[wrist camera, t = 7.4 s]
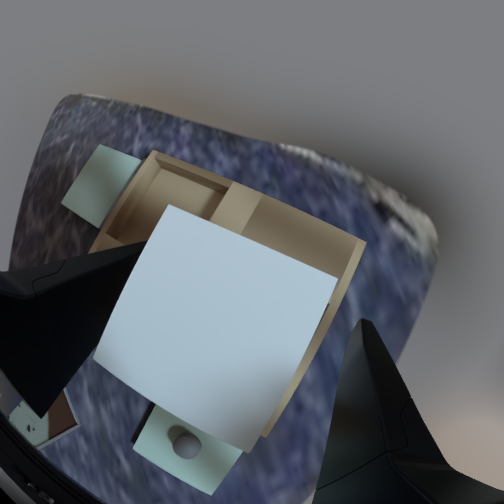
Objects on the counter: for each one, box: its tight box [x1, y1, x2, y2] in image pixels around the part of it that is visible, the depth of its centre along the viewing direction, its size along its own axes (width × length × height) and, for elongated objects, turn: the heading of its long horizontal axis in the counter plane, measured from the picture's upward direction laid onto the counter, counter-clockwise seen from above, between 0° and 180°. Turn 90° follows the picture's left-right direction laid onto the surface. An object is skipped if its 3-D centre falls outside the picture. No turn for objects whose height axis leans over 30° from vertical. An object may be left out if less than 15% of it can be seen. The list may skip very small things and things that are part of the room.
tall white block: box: [93, 204, 338, 453], centre depth 11 cm, size 4×4×11 cm
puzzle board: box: [61, 144, 367, 495], centre depth 17 cm, size 18×22×2 cm
